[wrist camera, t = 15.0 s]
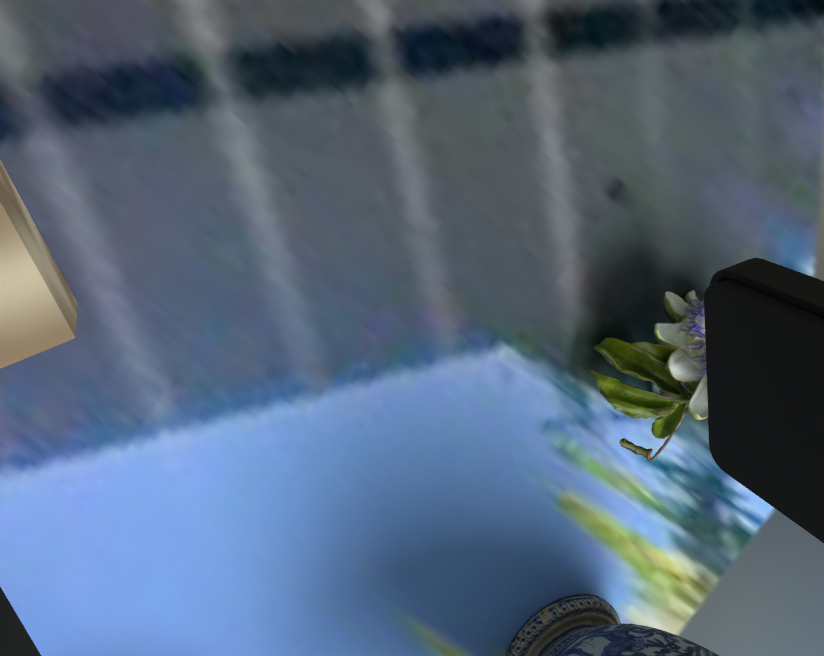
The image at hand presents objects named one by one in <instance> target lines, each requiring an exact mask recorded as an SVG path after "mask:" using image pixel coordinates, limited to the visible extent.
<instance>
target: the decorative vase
mask: <svg viewBox="0 0 824 656" xmlns="http://www.w3.org/2000/svg"><path fill="white" fill-rule="evenodd" d="M506 656H719V655H717V654H715V653H713V652H711V651H709V650H708V649H706V648H704V647H702V646H700V645H698V644H695V643H693V642H691V641H688V640H686V639H683V638H682V637H679V636H677V635H674V634H671V633H668V632H666V631H662V630H659V629H656V628H651V627H647V626H641V625H635V624H621V622H620V619H619V616H618V614H617V612H616V611H615V609H614V608H613V607H612V606H611V605H610V604H608V603H607V602H606V601H605V600H603V599H601V598H599V597H597V596H592V595H577V596H571V597H566V598H563V599H560V600H558V601H555V602H553V603H551V604H550V605H548V606H546V607H545V608H543V609H542V610H540V611H539V612H538V613H537V614H536V615H534V616H533V617H532V618H531V619H530V620H529V621H528V622H527V623H526V624H525V625H524V626H523V627H522V629H521V630H520V631H519V632H518V634H517V635H516V637H515V638H514V640H513V642H512V644H511V646H510V648H509V650H508V652H507V655H506Z"/></svg>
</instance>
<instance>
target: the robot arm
mask: <svg viewBox="0 0 824 656" xmlns="http://www.w3.org/2000/svg"><path fill="white" fill-rule="evenodd" d="M704 315H705V342H706V369H707V396H708V423H709V446H710V451H711V454H712V457H713V459H714V460H715V462H716V464H717V465H718V466H719V467H720V468H721V469H722V470H723V471H724V472H725V473H727V474H728V475H729V476H731V477H732V478H734V479H735V480H736V481H738V482H739V483H741V484H742V485H743V486H745V487H746V488H748V489H749V490H750V491H752V492H753V493H755V494H756V495H757V496H759V497H760V498H762V499H763V500H764V501H766V502H767V503H769V504H770V505H771V506H773V507H774V508H776V509H777V510H778V511H780V512H781V513H783V514H784V515H785V516H787V517H788V518H790V519H791V520H792V521H794V522H795V523H796V524H798V525H799V526H801V527H802V528H804V529H805V530H806V531H808V532H809V533H810V534H812V535H813V536H815V537H816V538H817V539H819V540H820V541H822V542H823V543H824V281H822V280H819V279H816V278H814V277H811V276H808V275H805V274H802V273H800V272H797V271H794V270H791V269H789V268H786V267H783V266H780V265H777V264H775V263H772V262H769V261H766V260H764V259H759V258H753V259H749V260H746V261H744V262H741V263H738V264H736V265H733V266H731V267H728V268H725V269H723V270H720V271H718V272H717V273H716V274H714V275H713V277H712V280H711V282H710V286H709V287H708V288H707V289H706V291H705V293H704ZM0 656H41V655H40V653H39V651H38V650H37V648H36V646H35V645H34V643H33V641H32V640H31V638H30V636H29V635H28V633H27V631H26V629H25V628H24V626H23V624H22V623H21V621H20V619H19V618H18V616H17V614H16V613H15V611H14V609H13V608H12V606H11V604H10V602H9V601H8V599H7V597H6V596H5V594H4V592H3V591H2V589H1V587H0Z"/></svg>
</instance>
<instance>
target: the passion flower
mask: <svg viewBox="0 0 824 656" xmlns="http://www.w3.org/2000/svg"><path fill="white" fill-rule="evenodd" d="M662 306H663V308H664V311H665V312H666V314H667V316H668V317H669V319H670V320H671V321H672V323H673V324H671V323H656V324H655V327H654V333H655V338H656V340H657V342H658V344H654V343H651V342H644V341H641V342H634V343H632V344H631V343H628V342H625V341H623V340H620V339H616V338H610V337H606V338H605V339H604V340H603V341H602V342H601V343H600V344H596V345H595V346H594V349H595V350H597V351H598V352H599V353H601V354H602V355H603V357H604V358H605V359H606V361H607V362H608V363H609V364H611V365H612V366H613V367H614V368H615V369H617V370H619V371H620V372H621V373H625V374H629V375H631V376H634V377H636V378H637V379H639V380H642V381H651V382H653V383H654V384H655V385H656V386H657V387H658V389H659V390H660V394H658V393H654V392H650V391H646V390H644V389H640V388H637V387H633V386H631V385H627V384H624V383H622V382H621V381H619V380H618V379H616V378H613V377H609V376H606V375H604V374H600V373H598V372H596V371H592V370H591V369H590V373H591V374H592V376H593V378H594V381H595V384H596V386H597V387H598V388H599V390H600V393H601V394H602V395H603V396H604V397H605V399H606V400H607V401H608V402H609V403H611V404H612V405H613V407H614V408H615V409H616V410H619V411H621V412H623V413H624V414H626V415H628V416H630V417H632V418H646V419H647V418H651V417H655V418H657V419H656V421H655V422H654V423H653V424H652V434H653V435H654V436H655V437H656V438H661V439H664V438H665V437H667V436H669V438H668V439H667V440H666V441H665V443H664V444H663V446H662V447H661V448H660V449H659V450H658V451H657V453H656V454H655V455H654V456H653V457H652V458H651V459H650V455H651V453H652V451H653V450H652V449H645V448H643V447H640V446H636V445H634V444H633V443H632V442H629V441H628V440H626V439H625V438H623V439H621V440H620V444H621V446H622V447H624V448H626V449H628V450H630V451H632V452H634V453H635V454H638V455H642V456H644V457H645V458H646V459H647V460H648V461H649V462H651V461H652V460H654V459H655V458H656V457H657V456H658V454H659V453H660V452H661V451H662V450H663V449H664V447H665V446H666V445H667V443H668V442H669V441H670V439H671V437H672V436H673V434H674V433H675V432H676V431H677V429H678V428H679V426H680V424H681V423H682V422H683V420H684V418H685V416H686V415H687V414H690V415H691V416H692V417H693V418H694V419H697V420H703V419H707V418H708V396H707V369H706V342H705V315H704V300H702V301H700V300H699V299H698V298H697V296H696V294H695V291H694V290H692V291H690V292H688V293H687V294H686V295H685V298H684V300H683V299H682V298H681V297H679V296H678V295H676V294H674V293H672V292H669V291H666V292H665V293H664V296H663V300H662ZM680 382H681V383H683V384H684V386H685V387H686V389H687V390H688V391H689V392H690V393H689V392H688V391H687V390H686V389H685V388H684V387H683V385H681V383H680ZM659 417H660V418H659Z"/></svg>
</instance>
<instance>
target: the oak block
mask: <svg viewBox="0 0 824 656" xmlns="http://www.w3.org/2000/svg"><path fill="white" fill-rule="evenodd" d="M76 322H77V301H76V299H75V297H74V296H73V294H72V292H71V290H70V288H69V286H68V284H67V283H66V281H65V279H64V277H63V275H62V273H61V271H60V270H59V268H58V266H57V264H56V262H55V260H54V258H53V257H52V255H51V253H50V251H49V249H48V247H47V246H46V244H45V242H44V240H43V238H42V236H41V234H40V233H39V231H38V229H37V227H36V225H35V223H34V221H33V220H32V218H31V216H30V214H29V212H28V210H27V208H26V207H25V205H24V203H23V201H22V199H21V197H20V195H19V194H18V192H17V190H16V188H15V186H14V184H13V182H12V181H11V179H10V177H9V175H8V173H7V171H6V169H5V168H4V166H3V164H2V162H1V160H0V368H3V367H5V366H8V365H10V364H13V363H15V362H18V361H20V360H23V359H25V358H28V357H30V356H33V355H35V354H37V353H40V352H42V351H45V350H47V349H50V348H52V347H55V346H57V345H60V344H62V343H65V342H67V341H69V340H72V339H74V338H76Z"/></svg>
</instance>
